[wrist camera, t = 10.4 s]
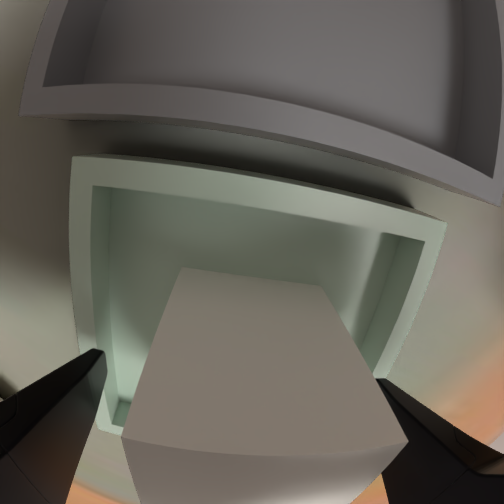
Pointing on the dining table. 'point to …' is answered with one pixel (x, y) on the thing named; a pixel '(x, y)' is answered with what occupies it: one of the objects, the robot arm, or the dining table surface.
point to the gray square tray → (292, 76)
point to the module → (255, 399)
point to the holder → (232, 254)
